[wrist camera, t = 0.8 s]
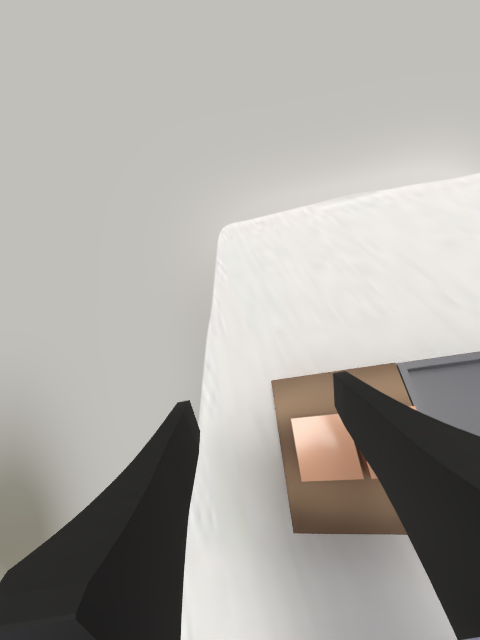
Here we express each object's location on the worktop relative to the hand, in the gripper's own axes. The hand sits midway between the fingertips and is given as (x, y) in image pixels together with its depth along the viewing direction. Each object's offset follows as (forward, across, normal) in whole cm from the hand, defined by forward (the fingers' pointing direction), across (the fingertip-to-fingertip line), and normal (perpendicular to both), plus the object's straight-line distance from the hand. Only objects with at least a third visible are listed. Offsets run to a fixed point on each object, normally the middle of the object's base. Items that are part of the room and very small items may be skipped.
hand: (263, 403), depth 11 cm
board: (+7, -7, +12) cm, 16 cm away
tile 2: (+5, -4, +10) cm, 12 cm away
